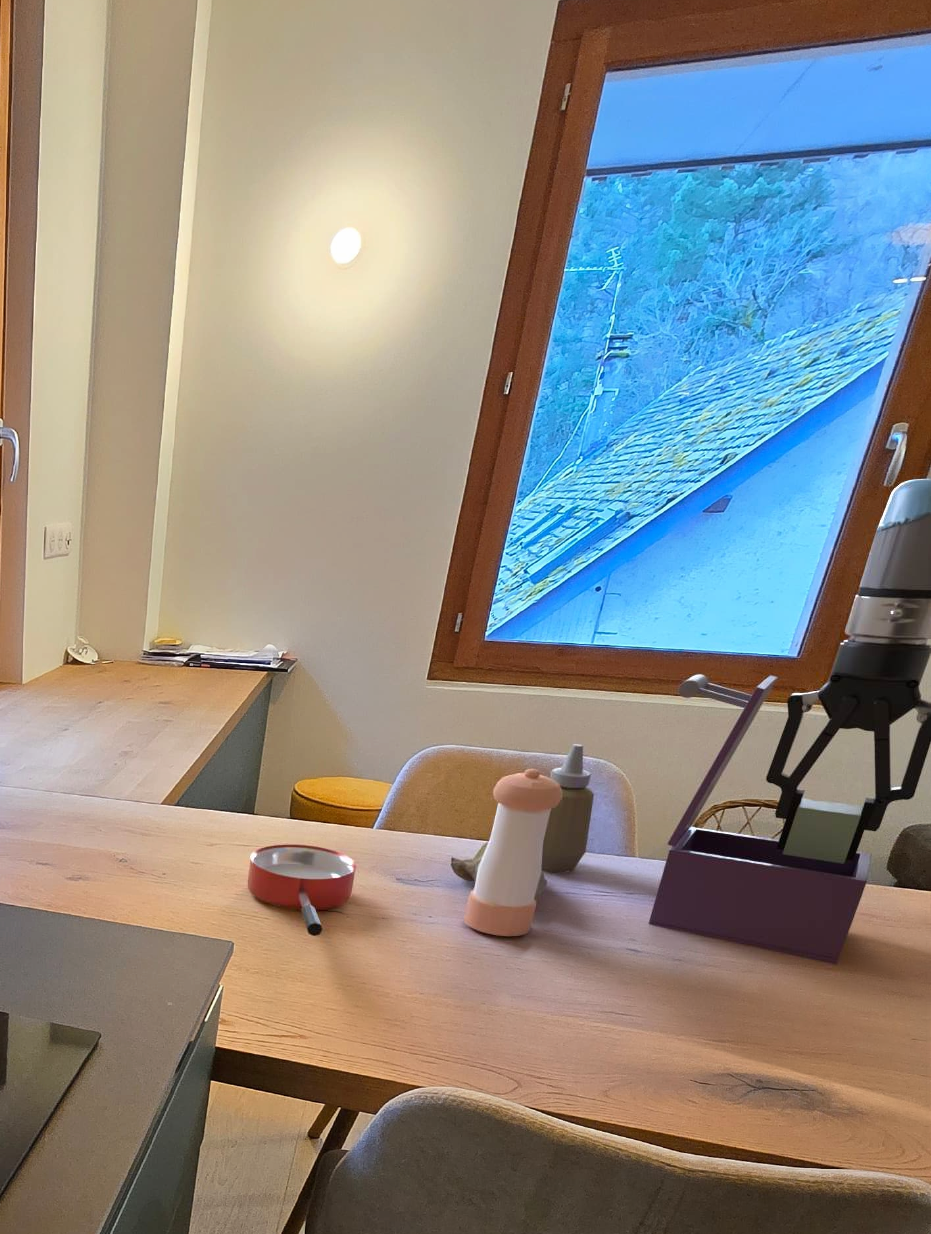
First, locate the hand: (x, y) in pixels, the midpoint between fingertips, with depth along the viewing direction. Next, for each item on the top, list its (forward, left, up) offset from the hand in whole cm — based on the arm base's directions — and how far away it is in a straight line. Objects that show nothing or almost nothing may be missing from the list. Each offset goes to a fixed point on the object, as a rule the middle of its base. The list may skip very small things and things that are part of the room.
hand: (815, 851), depth 119 cm
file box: (+4, 0, -11) cm, 12 cm away
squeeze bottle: (+28, -10, -11) cm, 32 cm away
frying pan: (+45, +31, -11) cm, 56 cm away
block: (0, 0, 0) cm, 0 cm away
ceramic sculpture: (+30, +6, -11) cm, 32 cm away
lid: (+11, 0, +9) cm, 14 cm away
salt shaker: (+27, +18, -11) cm, 34 cm away
